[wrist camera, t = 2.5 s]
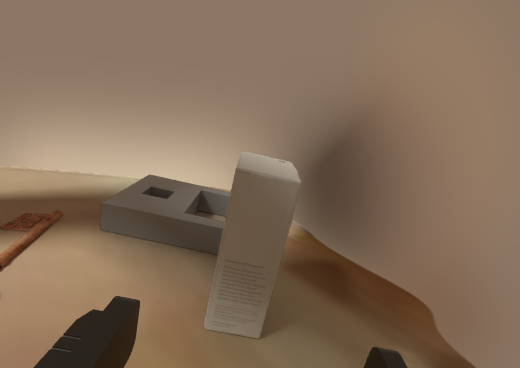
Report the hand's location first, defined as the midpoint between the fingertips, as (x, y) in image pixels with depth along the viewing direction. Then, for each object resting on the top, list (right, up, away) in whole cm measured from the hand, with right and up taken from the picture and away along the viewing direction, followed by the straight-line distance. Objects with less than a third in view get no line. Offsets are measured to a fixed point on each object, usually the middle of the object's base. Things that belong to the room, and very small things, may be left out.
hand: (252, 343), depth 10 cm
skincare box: (-2, -5, +13) cm, 14 cm away
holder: (-8, +1, +25) cm, 27 cm away
